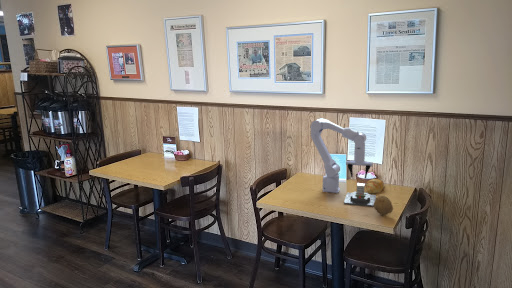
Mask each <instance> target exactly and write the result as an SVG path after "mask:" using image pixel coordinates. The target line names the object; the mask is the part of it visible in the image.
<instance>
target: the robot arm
mask: <svg viewBox="0 0 512 288" xmlns="http://www.w3.org/2000/svg"><path fill="white" fill-rule="evenodd" d="M328 129H329V130H331V131H334V132H336V133H338V134H341V136H342V137H343V138H345V139H348V140H349V141H352V142H354V151H353V152H354V153H353V154H354V158H353V160H346V161H345V165H346V166H347V169H348V170H349V174H350V178H353V172H354V171H353V169H354V166H363V167H365V169H364V172H365V174H364V179H367V175H368V173H369V171H370V169H371V167H373V162H371V161H365V158H366V157H365V156H366V155H365V154H366V141H367V136H366V134H365V133H363V132H360V131H359V130H358V131H356V130H354V129H352V127H342V126H340V125H338V124H336V123H334V122H332V121H330V120H329V119H325V118H322V117H320V118H317V119H315V120H313V121H312V122H311V124H310V137H311V140H312V142H313V144H314V145H315V148H316V149H317V151H318V153H319V156H320V157H321V160H322V161H323V163H324V165H323V166H324V170H325V172H324V173H325V175H322V189H321V190H322V192H324V193H337V194H338V193H339V192H340V190H341V188H340V187H339V185H340V184H339V183H340V175H339V173H340V171H341V166H340V165H339V164H338V163H337V162H336V161H335V160H334V159H333V158H332V156H331V154H330V152H329V150H328V147H327V146H326V144H325V142H324V140H323V138H322V136H321V135H322V133H323V131H324V130H328Z"/></svg>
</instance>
